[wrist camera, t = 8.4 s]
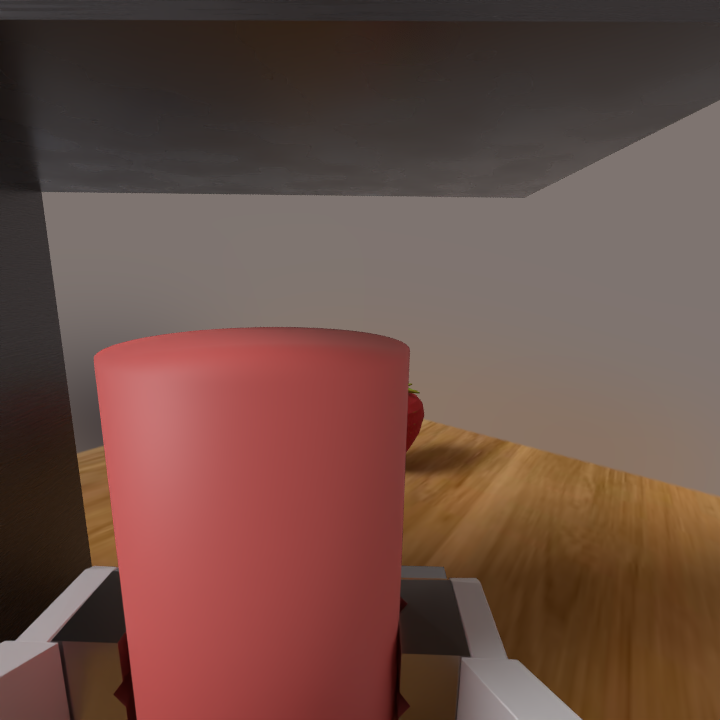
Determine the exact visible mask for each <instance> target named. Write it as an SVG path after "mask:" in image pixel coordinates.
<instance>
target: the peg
mask: <svg viewBox="0 0 720 720" xmlns="http://www.w3.org/2000/svg"><path fill="white" fill-rule="evenodd" d="M409 357H410V349H409V347H408V346H407V345H406V344H405V343H403V342H401V341H399V340H396V339H393V338H390V337H386V336H381V335H377V334H371V333H365V332H357V331H349V330H337V329H324V328H301V327H253V328H229V329H228V328H227V329H212V330H199V331H189V332H179V333H171V334H164V335H158V336H151V337H145V338H140V339H135V340H131V341H126V342H123V343H119V344H116V345H112V346H110V347H107V348H105V349H103V350H101V351H100V352H98V353H97V354H96V355H95V356H94V366H95V374H96V383H97V391H98V399H99V408H100V416H101V424H102V433H103V441H104V449H105V458H106V466H107V474H108V483H109V491H110V499H111V508H112V516H113V524H114V533H115V541H116V549H117V558H118V566H119V574H120V583H121V591H122V599H123V608H124V616H125V624H126V633H127V641H128V649H129V658H130V666H131V674H132V683H133V691H134V699H135V708H136V716H137V720H395V702H396V680H397V650H398V627H399V612H400V587H401V562H402V536H403V511H404V486H405V460H406V435H407V410H408V384H409V359H410V358H409Z"/></svg>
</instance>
